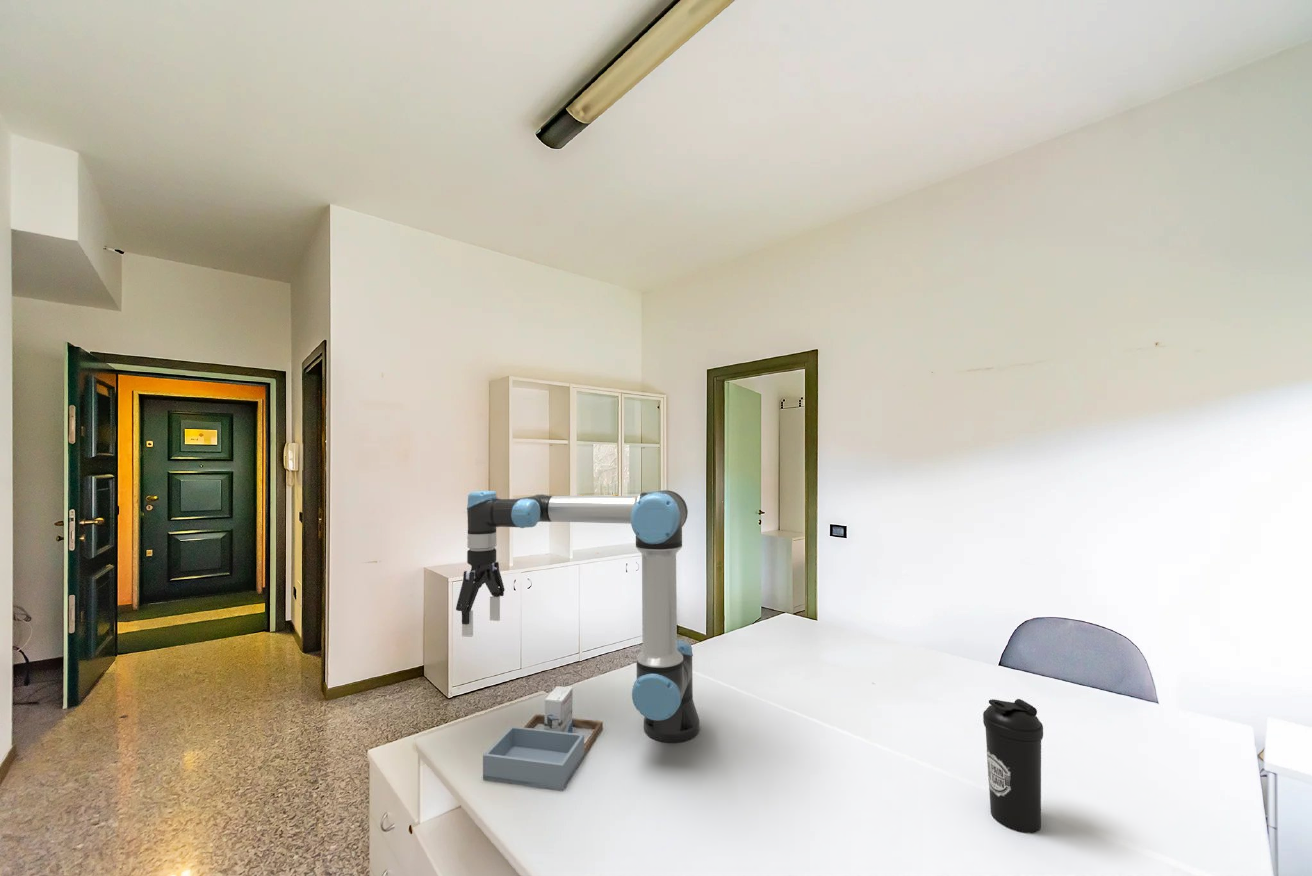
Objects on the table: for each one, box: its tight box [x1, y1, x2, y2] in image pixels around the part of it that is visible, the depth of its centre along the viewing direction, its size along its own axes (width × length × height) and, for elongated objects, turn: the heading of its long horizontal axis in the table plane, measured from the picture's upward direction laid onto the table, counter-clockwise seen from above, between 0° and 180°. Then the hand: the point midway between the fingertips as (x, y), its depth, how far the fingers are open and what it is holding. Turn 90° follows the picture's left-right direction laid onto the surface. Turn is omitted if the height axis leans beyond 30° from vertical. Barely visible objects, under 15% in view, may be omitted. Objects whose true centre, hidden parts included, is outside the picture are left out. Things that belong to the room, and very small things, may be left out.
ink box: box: [543, 685, 574, 733], centre depth 142 cm, size 9×5×12 cm, turn 168°
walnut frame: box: [523, 713, 604, 757], centre depth 142 cm, size 20×14×2 cm
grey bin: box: [482, 725, 586, 792], centre depth 128 cm, size 20×14×6 cm
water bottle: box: [982, 698, 1044, 834], centre depth 109 cm, size 10×10×23 cm
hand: (481, 628), depth 145 cm, fingers open, 13 cm apart
